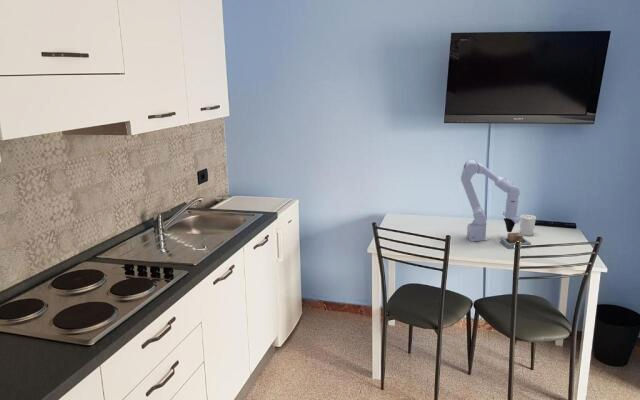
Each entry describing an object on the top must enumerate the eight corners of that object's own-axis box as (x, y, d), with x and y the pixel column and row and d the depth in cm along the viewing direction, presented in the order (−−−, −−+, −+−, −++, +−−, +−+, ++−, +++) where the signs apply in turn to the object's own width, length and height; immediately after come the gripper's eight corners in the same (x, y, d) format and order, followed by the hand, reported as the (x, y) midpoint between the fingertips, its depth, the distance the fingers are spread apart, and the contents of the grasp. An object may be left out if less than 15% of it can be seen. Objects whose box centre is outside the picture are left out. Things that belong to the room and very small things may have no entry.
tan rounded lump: (509, 245, 260) (509, 236, 259) (505, 242, 265) (506, 232, 263) (523, 245, 260) (524, 235, 259) (519, 241, 265) (520, 232, 263)
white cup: (525, 236, 272) (526, 219, 269) (515, 232, 279) (517, 215, 276) (537, 235, 274) (538, 218, 271) (527, 230, 281) (529, 213, 278)
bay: (508, 248, 256) (508, 244, 255) (500, 242, 265) (500, 238, 264) (530, 247, 257) (530, 243, 256) (521, 241, 266) (522, 236, 265)
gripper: (525, 211, 256) (522, 236, 260) (512, 203, 270) (510, 226, 274) (512, 212, 255) (509, 236, 259) (500, 204, 269) (497, 227, 273)
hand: (509, 231), depth 266 cm, fingers closed
